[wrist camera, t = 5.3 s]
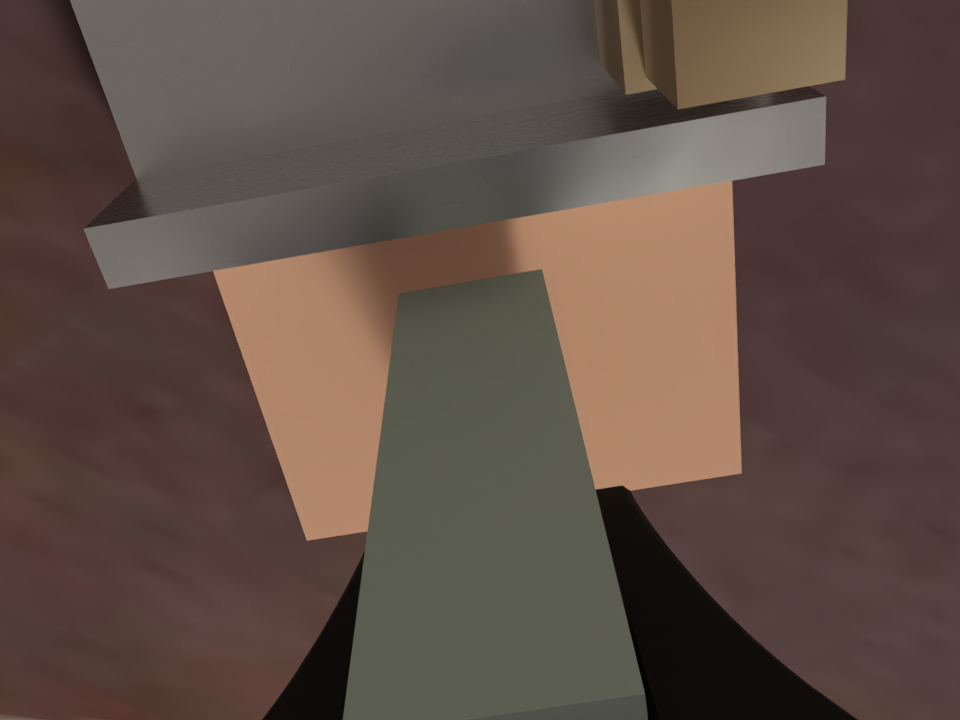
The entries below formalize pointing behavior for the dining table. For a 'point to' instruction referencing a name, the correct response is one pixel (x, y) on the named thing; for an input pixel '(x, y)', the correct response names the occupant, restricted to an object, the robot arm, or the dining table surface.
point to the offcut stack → (721, 46)
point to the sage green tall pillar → (486, 526)
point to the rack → (388, 125)
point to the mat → (579, 322)
